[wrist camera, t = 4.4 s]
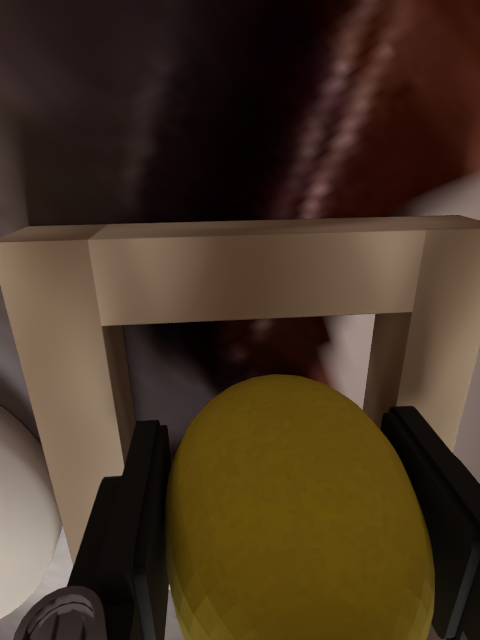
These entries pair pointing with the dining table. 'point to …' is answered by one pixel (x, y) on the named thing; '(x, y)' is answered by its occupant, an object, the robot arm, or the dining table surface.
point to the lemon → (294, 521)
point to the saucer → (24, 514)
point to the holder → (230, 317)
